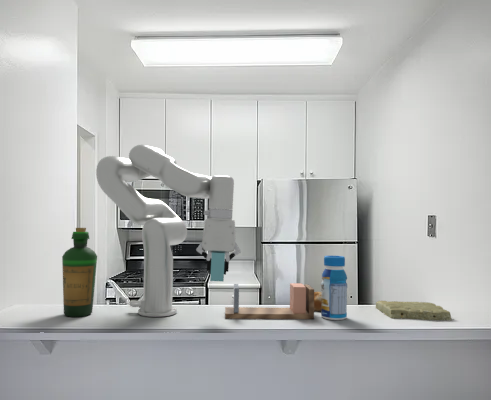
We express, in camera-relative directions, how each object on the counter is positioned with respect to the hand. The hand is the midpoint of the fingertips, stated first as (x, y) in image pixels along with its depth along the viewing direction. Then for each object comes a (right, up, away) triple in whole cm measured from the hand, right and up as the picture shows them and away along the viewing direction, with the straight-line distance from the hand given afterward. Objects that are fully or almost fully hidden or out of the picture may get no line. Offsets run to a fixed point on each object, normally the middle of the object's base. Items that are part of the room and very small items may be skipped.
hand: (217, 273), depth 136 cm
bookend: (+6, -13, +8) cm, 16 cm away
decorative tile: (+66, -17, +14) cm, 70 cm away
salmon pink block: (+26, -14, +9) cm, 31 cm away
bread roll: (+35, -17, +20) cm, 43 cm away
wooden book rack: (+16, -15, +8) cm, 24 cm away
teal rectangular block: (0, -2, 0) cm, 2 cm away
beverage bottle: (+38, -16, +6) cm, 41 cm away
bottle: (-45, -14, +5) cm, 48 cm away
